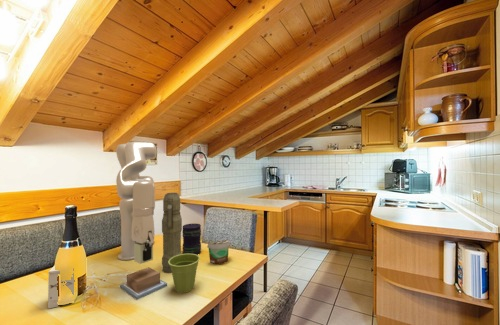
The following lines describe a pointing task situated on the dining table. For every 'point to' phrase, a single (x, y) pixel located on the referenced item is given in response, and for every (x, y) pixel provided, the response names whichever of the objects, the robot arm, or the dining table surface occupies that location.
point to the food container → (219, 252)
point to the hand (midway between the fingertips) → (143, 257)
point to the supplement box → (53, 287)
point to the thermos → (171, 229)
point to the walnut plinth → (143, 279)
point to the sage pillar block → (140, 253)
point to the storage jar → (191, 239)
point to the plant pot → (184, 271)
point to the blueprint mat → (144, 292)
